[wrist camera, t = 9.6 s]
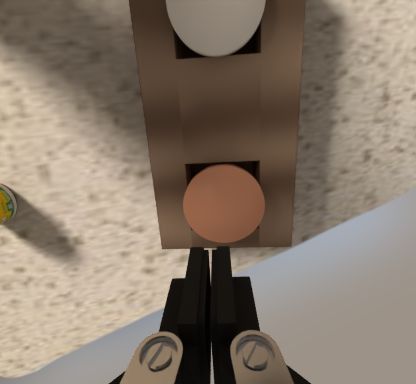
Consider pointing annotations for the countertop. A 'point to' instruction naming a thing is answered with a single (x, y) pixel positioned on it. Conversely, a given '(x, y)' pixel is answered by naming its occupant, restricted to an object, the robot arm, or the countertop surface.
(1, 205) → the supplement bottle
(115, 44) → the countertop surface
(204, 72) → the wooden shaker caddy
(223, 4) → the cream button
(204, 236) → the orange-brown round piece
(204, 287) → the robot arm
